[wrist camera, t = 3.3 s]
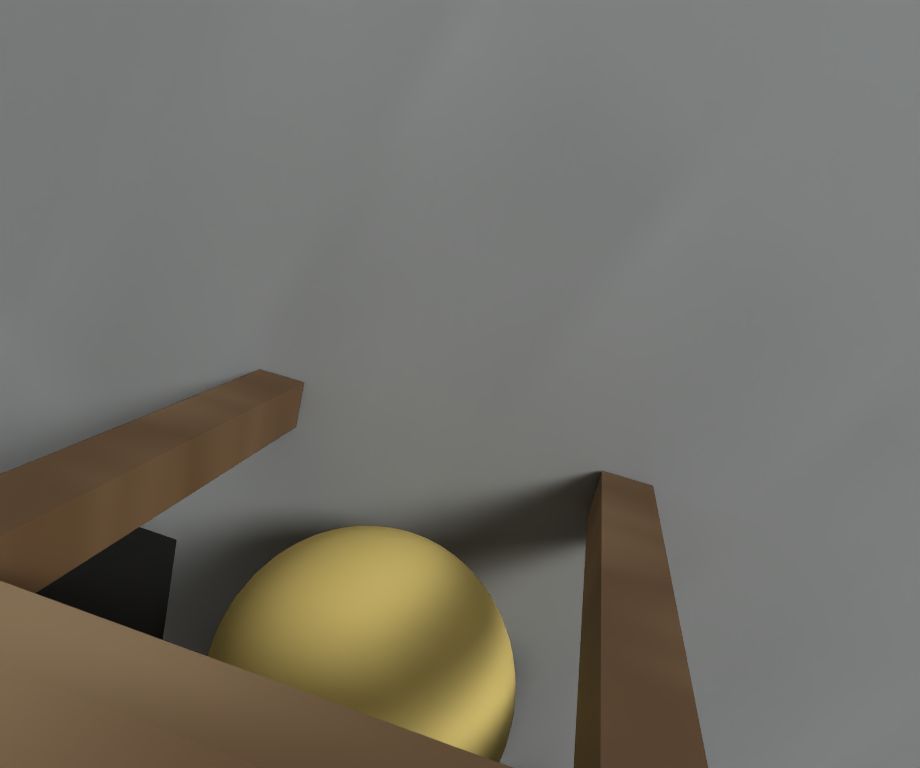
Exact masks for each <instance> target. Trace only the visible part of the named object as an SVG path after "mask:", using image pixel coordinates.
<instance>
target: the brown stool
mask: <svg viewBox="0 0 920 768" xmlns="http://www.w3.org/2000/svg"><path fill="white" fill-rule="evenodd" d="M303 386H304V382H301V381H298V380H294V379H291V378H288V377H284V376H281V375H277V374H274V373H271V372H267V371H264V370H261V369H260V370H257V371H255V372H252V373H250V374H248V375H245V376H243V377H240V378H238V379H235V380H233V381H230V382H228V383H225V384H223V385H220V386H218V387H215V388H213V389H210V390H208V391H205V392H203V393H200V394H198V395H195V396H193V397H191V398H188V399H186V400H183V401H181V402H178V403H176V404H173V405H171V406H168V407H166V408H163V409H161V410H158V411H156V412H153V413H151V414H148V415H146V416H143V417H141V418H138V419H136V420H134V421H131V422H129V423H126V424H124V425H121V426H119V427H116V428H114V429H111V430H109V431H106V432H104V433H101V434H99V435H96V436H94V437H91V438H89V439H86V440H84V441H81V442H79V443H77V444H74V445H72V446H69V447H67V448H64V449H62V450H59V451H57V452H54V453H52V454H49V455H47V456H44V457H42V458H39V459H37V460H34V461H32V462H29V463H27V464H24V465H22V466H19V467H17V468H15V469H12V470H10V471H7V472H5V473H2V474H0V768H512V767H509V766H506V765H504V764H501V763H498V762H495V761H493V760H490V759H487V758H484V757H482V756H479V755H476V754H473V753H471V752H468V751H465V750H462V749H460V748H457V747H454V746H451V745H449V744H446V743H443V742H441V741H438V740H435V739H432V738H430V737H427V736H424V735H421V734H419V733H416V732H413V731H410V730H408V729H405V728H402V727H399V726H397V725H394V724H391V723H388V722H386V721H383V720H380V719H378V718H375V717H372V716H369V715H367V714H364V713H361V712H358V711H356V710H353V709H350V708H347V707H345V706H342V705H339V704H336V703H334V702H331V701H328V700H325V699H323V698H320V697H317V696H315V695H312V694H309V693H306V692H304V691H301V690H298V689H295V688H293V687H290V686H287V685H284V684H282V683H279V682H276V681H273V680H271V679H268V678H265V677H262V676H260V675H257V674H254V673H252V672H249V671H246V670H243V669H241V668H238V667H235V666H232V665H230V664H227V663H224V662H221V661H219V660H216V659H213V658H210V657H208V656H205V655H202V654H200V653H197V652H194V651H191V650H189V649H186V648H183V647H180V646H178V645H175V644H172V643H169V642H167V641H164V640H161V639H158V638H156V637H153V636H150V635H147V634H145V633H142V632H139V631H137V630H134V629H131V628H128V627H126V626H123V625H120V624H117V623H115V622H112V621H109V620H106V619H104V618H101V617H98V616H95V615H93V614H90V613H87V612H84V611H82V610H79V609H76V608H74V607H71V606H68V605H65V604H63V603H60V602H57V601H54V600H52V599H49V598H46V597H43V596H41V595H38V594H35V593H36V592H38V591H40V590H41V589H43V588H44V587H46V586H47V585H49V584H51V583H52V582H54V581H55V580H57V579H58V578H60V577H62V576H63V575H65V574H66V573H68V572H69V571H71V570H73V569H74V568H76V567H77V566H79V565H80V564H82V563H84V562H85V561H87V560H88V559H90V558H91V557H93V556H94V555H96V554H98V553H99V552H101V551H102V550H104V549H105V548H107V547H109V546H110V545H112V544H113V543H115V542H116V541H118V540H120V539H121V538H123V537H124V536H126V535H127V534H129V533H131V532H132V531H134V530H135V529H137V528H138V527H140V526H142V525H143V524H145V523H146V522H148V521H149V520H151V519H152V518H154V517H156V516H157V515H159V514H160V513H162V512H163V511H165V510H167V509H168V508H170V507H171V506H173V505H174V504H176V503H178V502H179V501H181V500H182V499H184V498H185V497H187V496H189V495H190V494H192V493H193V492H195V491H196V490H198V489H200V488H201V487H203V486H204V485H206V484H207V483H209V482H210V481H212V480H214V479H215V478H217V477H218V476H220V475H221V474H223V473H225V472H226V471H228V470H229V469H231V468H232V467H234V466H236V465H237V464H239V463H240V462H242V461H243V460H245V459H247V458H248V457H250V456H251V455H253V454H254V453H256V452H258V451H259V450H261V449H262V448H264V447H265V446H267V445H268V444H270V443H272V442H273V441H275V440H276V439H278V438H279V437H281V436H283V435H284V434H286V433H287V432H289V431H290V430H292V429H294V428H295V427H296V424H297V419H298V413H299V408H300V402H301V397H302V392H303ZM574 768H708V765H707V760H706V755H705V750H704V745H703V739H702V734H701V729H700V724H699V719H698V714H697V709H696V704H695V698H694V693H693V688H692V683H691V678H690V673H689V668H688V663H687V658H686V652H685V647H684V642H683V637H682V632H681V627H680V622H679V617H678V611H677V606H676V601H675V596H674V591H673V586H672V581H671V576H670V571H669V565H668V560H667V555H666V550H665V545H664V540H663V535H662V530H661V525H660V519H659V514H658V509H657V504H656V499H655V494H654V489H653V486H652V485H648V484H645V483H642V482H638V481H635V480H632V479H628V478H625V477H621V476H618V475H615V474H611V473H608V472H605V471H602V472H601V475H600V478H599V482H598V485H597V488H596V491H595V494H594V497H593V501H592V504H591V507H590V510H589V513H588V516H587V535H586V553H585V571H584V590H583V608H582V626H581V644H580V663H579V681H578V699H577V717H576V736H575V754H574Z"/></svg>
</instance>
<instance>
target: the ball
mask: <svg viewBox="0 0 920 768" xmlns="http://www.w3.org/2000/svg"><path fill="white" fill-rule="evenodd" d="M208 657H210V658H213V659H216V660H219V661H221V662H224V663H227V664H230V665H232V666H235V667H238V668H241V669H243V670H246V671H249V672H252V673H254V674H257V675H260V676H262V677H265V678H268V679H271V680H273V681H276V682H279V683H282V684H284V685H287V686H290V687H293V688H295V689H298V690H301V691H304V692H306V693H309V694H312V695H315V696H317V697H320V698H323V699H325V700H328V701H331V702H334V703H336V704H339V705H342V706H345V707H347V708H350V709H353V710H356V711H358V712H361V713H364V714H367V715H369V716H372V717H375V718H378V719H380V720H383V721H386V722H388V723H391V724H394V725H397V726H399V727H402V728H405V729H408V730H410V731H413V732H416V733H419V734H421V735H424V736H427V737H430V738H432V739H435V740H438V741H441V742H443V743H446V744H449V745H451V746H454V747H457V748H460V749H462V750H465V751H468V752H471V753H473V754H476V755H479V756H482V757H484V758H487V759H490V760H493V761H495V762H498V763H499V762H500V759H501V757H502V754H503V752H504V749H505V747H506V743H507V740H508V736H509V733H510V728H511V724H512V719H513V714H514V702H515V688H516V682H515V669H514V660H513V653H512V649H511V644H510V640H509V636H508V633H507V631H506V628H505V625H504V623H503V620H502V617H501V615H500V612H499V610H498V608H497V606H496V604H495V603H494V601H493V599H492V597H491V595H490V594H489V593H488V591H487V590H486V588H485V587H484V585H483V584H482V583H481V581H480V580H479V579H478V578H477V577H476V576H475V574H474V573H473V572H472V571H471V570H470V569H469V568H468V567H467V566H466V565H465V564H464V563H463V562H462V561H461V560H459V559H458V558H457V557H456V556H455V555H454V554H452V553H451V552H449V551H448V550H446V549H445V548H443V547H442V546H440V545H438V544H437V543H435V542H433V541H431V540H429V539H427V538H425V537H422V536H420V535H417V534H414V533H412V532H408V531H404V530H400V529H396V528H389V527H381V526H351V527H343V528H338V529H334V530H330V531H327V532H323V533H319V534H316V535H314V536H311V537H309V538H307V539H305V540H302V541H300V542H298V543H296V544H294V545H292V546H291V547H289V548H287V549H286V550H284V551H283V552H281V553H279V554H278V555H277V556H275V557H274V558H273V559H272V560H270V561H269V562H268V563H267V564H266V565H264V566H263V567H262V568H261V569H260V570H259V571H257V572H256V573H255V574H254V575H253V577H252V578H251V579H250V580H249V581H248V582H247V584H246V585H245V586H244V587H243V588H242V590H241V591H240V592H239V593H238V594H237V596H236V597H235V598H234V600H233V601H232V603H231V605H230V606H229V608H228V610H227V611H226V613H225V615H224V617H223V618H222V620H221V622H220V624H219V626H218V628H217V631H216V633H215V636H214V638H213V641H212V644H211V647H210V649H209V652H208Z"/></svg>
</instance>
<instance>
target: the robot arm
mask: <svg viewBox="0 0 920 768" xmlns="http://www.w3.org/2000/svg"><path fill="white" fill-rule="evenodd" d="M175 547H176V540H175V539H172V538H170V537H167V536H164V535H161V534H158V533H155V532H152V531H149V530H146V529H143V528H140V527H138V528H137V529H135V530H134V531H132V532H131V533H129V534H127V535H126V536H124V537H123V538H121V539H120V540H118V541H116V542H115V543H113V544H112V545H110V546H109V547H107V548H105V549H104V550H102V551H101V552H99V553H98V554H96V555H94V556H93V557H91V558H90V559H88V560H87V561H85V562H84V563H82V564H80V565H79V566H77V567H76V568H74V569H73V570H71V571H69V572H68V573H66V574H65V575H63V576H62V577H60V578H58V579H57V580H55V581H54V582H52V583H51V584H49V585H47V586H46V587H44V588H43V589H41V590H40V591H38V592H36V593H35V594H38V595H41V596H43V597H46V598H49V599H52V600H54V601H57V602H60V603H63V604H65V605H68V606H71V607H74V608H76V609H79V610H82V611H84V612H87V613H90V614H93V615H95V616H98V617H101V618H104V619H106V620H109V621H112V622H115V623H117V624H120V625H123V626H126V627H128V628H131V629H134V630H137V631H139V632H142V633H145V634H147V635H150V636H153V637H156V638H158V639H161V640H163V633H164V626H165V618H166V611H167V604H168V597H169V590H170V583H171V576H172V568H173V561H174V554H175Z"/></svg>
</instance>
